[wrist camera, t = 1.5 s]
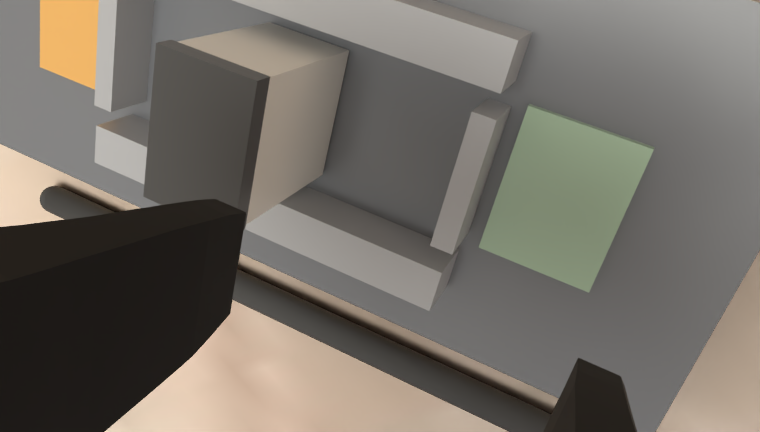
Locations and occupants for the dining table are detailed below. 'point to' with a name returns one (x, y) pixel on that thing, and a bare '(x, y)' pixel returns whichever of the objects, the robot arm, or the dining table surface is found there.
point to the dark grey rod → (352, 339)
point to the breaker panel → (465, 164)
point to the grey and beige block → (241, 116)
